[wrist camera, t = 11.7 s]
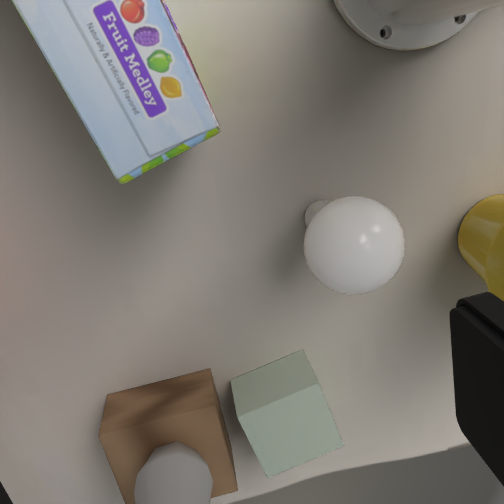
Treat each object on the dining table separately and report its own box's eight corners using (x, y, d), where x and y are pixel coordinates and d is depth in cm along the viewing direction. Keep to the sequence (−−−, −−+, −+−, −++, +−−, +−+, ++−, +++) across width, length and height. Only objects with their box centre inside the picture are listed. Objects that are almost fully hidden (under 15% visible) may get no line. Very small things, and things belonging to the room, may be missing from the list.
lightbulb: (265, 202, 36) (300, 247, 26) (335, 159, 36) (399, 188, 26) (302, 265, 39) (348, 330, 28) (369, 225, 38) (439, 276, 28)
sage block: (303, 349, 41) (319, 382, 37) (326, 407, 44) (344, 445, 39) (230, 380, 41) (237, 417, 37) (257, 436, 44) (267, 478, 39)
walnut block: (210, 368, 41) (214, 405, 36) (231, 447, 44) (237, 490, 39) (107, 394, 40) (98, 435, 35) (136, 473, 43) (131, 519, 38)
